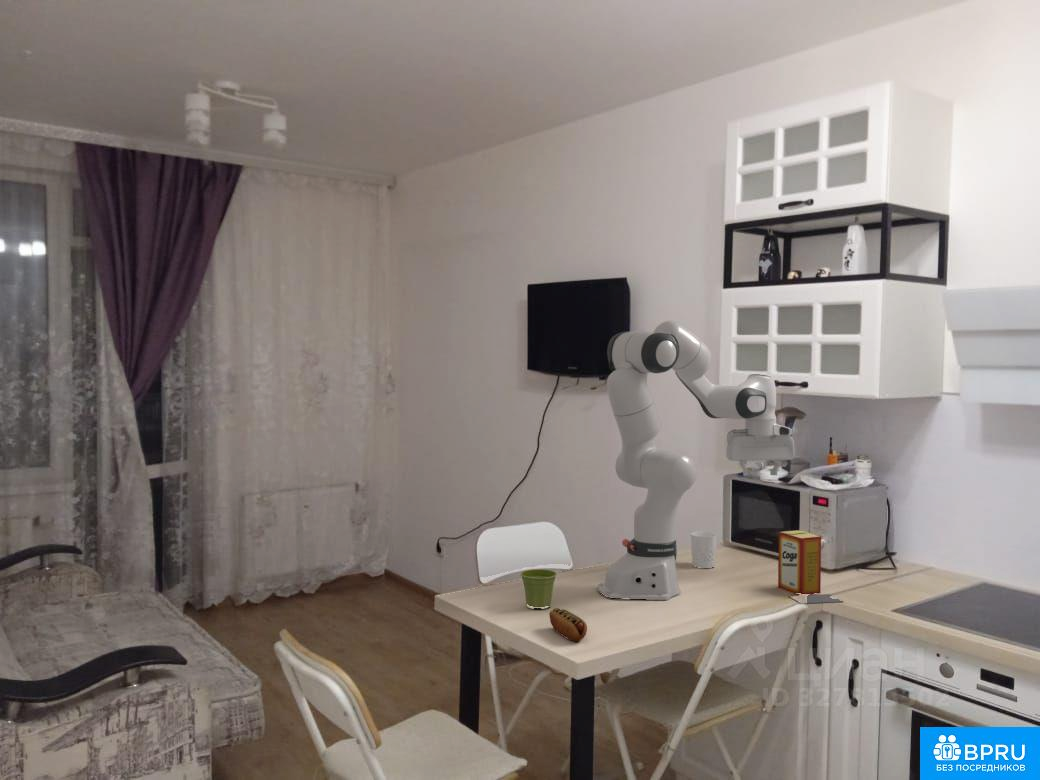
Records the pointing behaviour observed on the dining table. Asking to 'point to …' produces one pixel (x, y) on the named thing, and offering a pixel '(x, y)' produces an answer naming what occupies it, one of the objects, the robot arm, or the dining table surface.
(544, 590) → the plant pot
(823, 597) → the mat
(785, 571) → the baking soda box
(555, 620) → the hot dog
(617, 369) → the robot arm
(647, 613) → the dining table surface
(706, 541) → the white cup
